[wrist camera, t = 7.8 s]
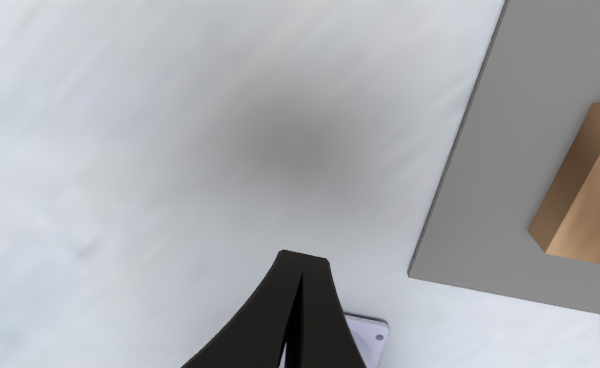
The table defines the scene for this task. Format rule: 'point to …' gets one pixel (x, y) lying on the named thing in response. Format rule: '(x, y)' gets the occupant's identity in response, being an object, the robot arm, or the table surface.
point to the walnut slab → (574, 199)
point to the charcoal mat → (517, 159)
